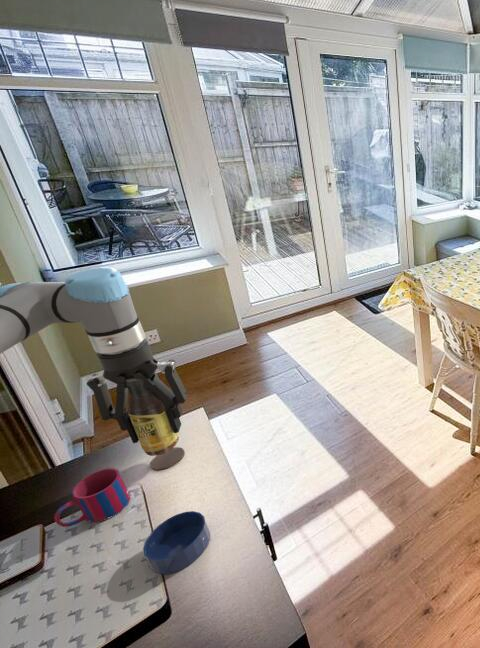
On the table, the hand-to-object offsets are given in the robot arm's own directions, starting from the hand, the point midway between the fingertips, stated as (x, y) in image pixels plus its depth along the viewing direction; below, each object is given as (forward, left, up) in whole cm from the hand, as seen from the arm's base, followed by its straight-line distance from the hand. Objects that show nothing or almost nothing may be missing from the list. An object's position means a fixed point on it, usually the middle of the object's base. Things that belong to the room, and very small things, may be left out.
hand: (158, 433), depth 90 cm
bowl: (+7, -25, -8) cm, 27 cm away
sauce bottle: (0, 0, -4) cm, 4 cm away
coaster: (0, 0, -8) cm, 8 cm away
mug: (-9, -10, -8) cm, 16 cm away
